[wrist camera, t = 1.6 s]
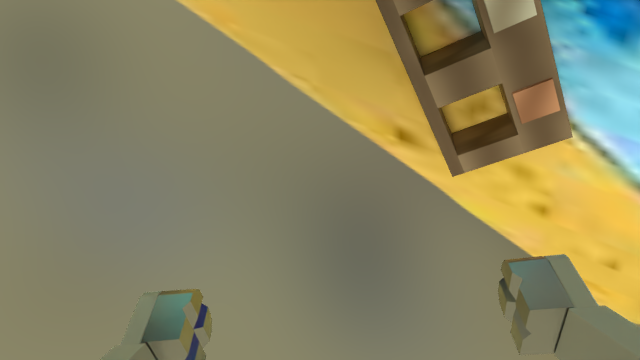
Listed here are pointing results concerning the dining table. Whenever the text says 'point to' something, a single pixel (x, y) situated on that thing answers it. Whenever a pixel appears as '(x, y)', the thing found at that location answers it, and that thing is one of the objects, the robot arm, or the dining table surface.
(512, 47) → the socket block
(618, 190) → the dining table surface
